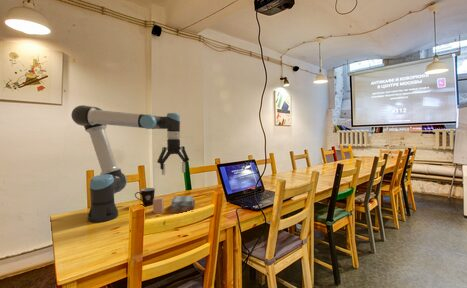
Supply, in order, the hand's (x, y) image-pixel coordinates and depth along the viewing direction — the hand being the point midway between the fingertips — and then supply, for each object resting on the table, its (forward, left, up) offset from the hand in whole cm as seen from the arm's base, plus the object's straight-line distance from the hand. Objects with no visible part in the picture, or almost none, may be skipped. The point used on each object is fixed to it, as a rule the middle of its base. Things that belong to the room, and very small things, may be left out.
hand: (173, 173), depth 150 cm
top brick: (-9, -4, -22) cm, 24 cm away
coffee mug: (-20, +12, -22) cm, 32 cm away
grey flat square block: (+5, 0, -22) cm, 22 cm away
